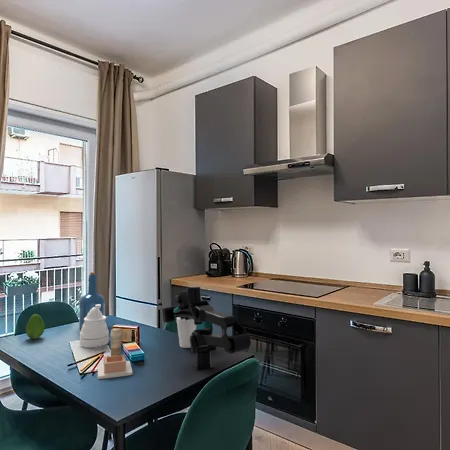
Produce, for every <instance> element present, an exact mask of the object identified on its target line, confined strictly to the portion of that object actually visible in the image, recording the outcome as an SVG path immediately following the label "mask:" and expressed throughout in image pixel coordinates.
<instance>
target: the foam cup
mask: <svg viewBox="0 0 450 450" xmlns="http://www.w3.org/2000/svg"><path fill="white" fill-rule="evenodd" d="M176 324H177V333H178V334H177V335H178V341H179V342H178V343H179V347H180V348H184V349H188V348H189V349H191V345H190V336H191V335H192V332H194V330H197V325H194V320H192V319H190V320H185V319H183V320H181V319H180V317H177V318H176Z"/></svg>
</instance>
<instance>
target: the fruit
mask: <svg viewBox="0 0 450 450" xmlns="http://www.w3.org/2000/svg"><path fill="white" fill-rule="evenodd" d="M45 326H46V325H45V322H44V320H43V318H42V317H41V315H40V314H37V313H34V314H32V315H31V316H30V318H29V320H28V322H27V323H26V328H25V334H26V336H27V337H28V338H29V339H31V340H36V339H39V338H41V336H42V335H43V334H44V332H45Z"/></svg>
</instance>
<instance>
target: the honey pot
mask: <svg viewBox="0 0 450 450" xmlns="http://www.w3.org/2000/svg"><path fill="white" fill-rule="evenodd" d="M100 307H101V305H100V304H97V305H95V307H93V308H92V309H91V310H90V311H89V313H88V314H87V316H86V317H85V318H84V324H83V326H82V329H81V330H80V332H79V346H80V345H82V346H89V347H88V348H98V347H97V346H99V347H102V345H103V346H105V344H106V345H107V344H108V343H109V335H110V334H109V333H110V331H109V329H108V326H107V323H106V320H107V316H106V315H105V316H103V315H102V313H101V311H100V310H99V309H100ZM82 346H81V347H82Z"/></svg>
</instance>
